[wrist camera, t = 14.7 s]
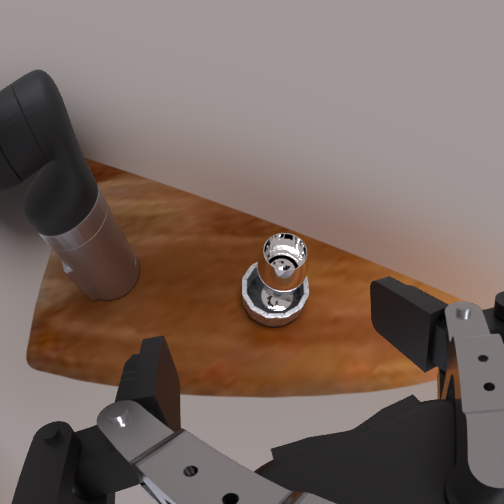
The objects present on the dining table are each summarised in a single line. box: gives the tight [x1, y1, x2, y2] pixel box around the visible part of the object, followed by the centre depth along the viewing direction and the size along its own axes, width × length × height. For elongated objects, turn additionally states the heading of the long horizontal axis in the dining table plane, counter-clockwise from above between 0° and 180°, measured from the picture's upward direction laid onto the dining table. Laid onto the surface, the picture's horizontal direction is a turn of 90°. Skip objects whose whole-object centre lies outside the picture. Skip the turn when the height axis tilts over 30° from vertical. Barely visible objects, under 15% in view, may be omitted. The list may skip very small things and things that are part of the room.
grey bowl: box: [242, 262, 309, 328], centre depth 43 cm, size 9×9×4 cm
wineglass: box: [257, 233, 309, 311], centre depth 39 cm, size 6×6×12 cm
